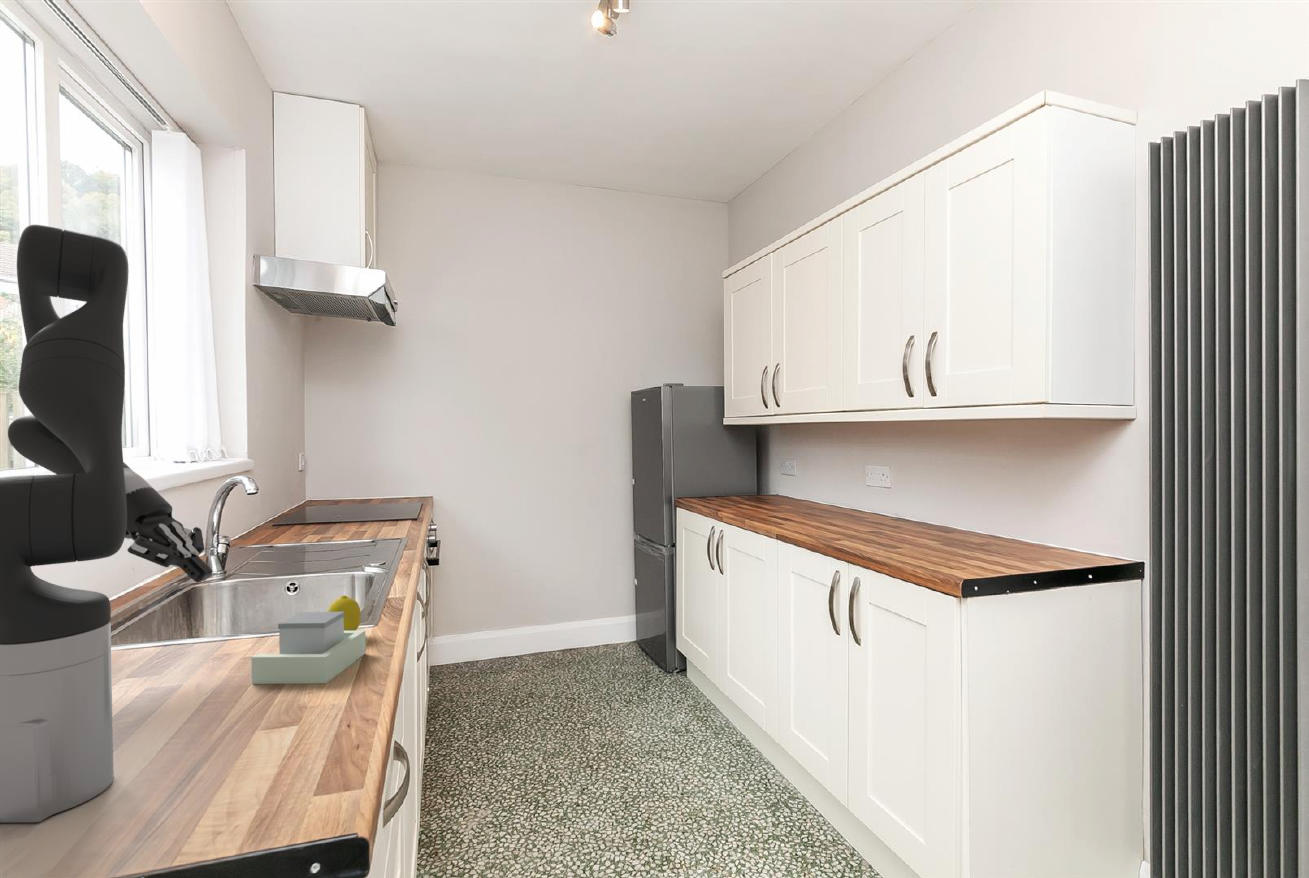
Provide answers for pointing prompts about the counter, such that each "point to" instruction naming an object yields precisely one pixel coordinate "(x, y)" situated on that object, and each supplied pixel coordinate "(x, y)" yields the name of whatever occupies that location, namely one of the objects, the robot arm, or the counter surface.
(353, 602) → the lemon
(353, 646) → the bay
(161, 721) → the counter surface
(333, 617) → the lidded grey box
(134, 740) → the counter surface
